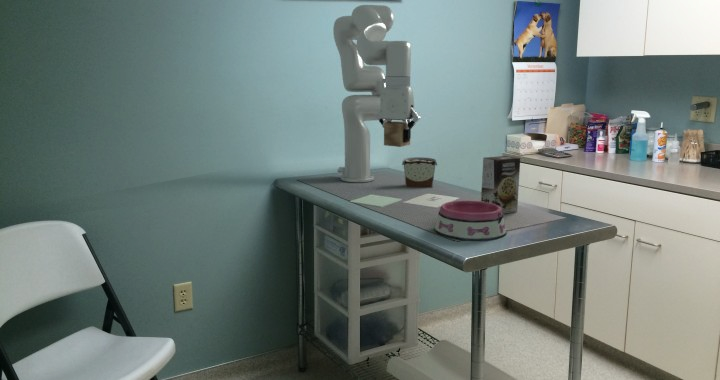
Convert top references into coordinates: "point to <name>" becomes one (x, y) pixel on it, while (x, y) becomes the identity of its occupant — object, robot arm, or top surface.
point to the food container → (419, 171)
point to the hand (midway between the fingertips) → (397, 140)
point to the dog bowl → (470, 221)
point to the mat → (376, 200)
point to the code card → (431, 200)
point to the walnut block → (394, 134)
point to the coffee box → (501, 182)
